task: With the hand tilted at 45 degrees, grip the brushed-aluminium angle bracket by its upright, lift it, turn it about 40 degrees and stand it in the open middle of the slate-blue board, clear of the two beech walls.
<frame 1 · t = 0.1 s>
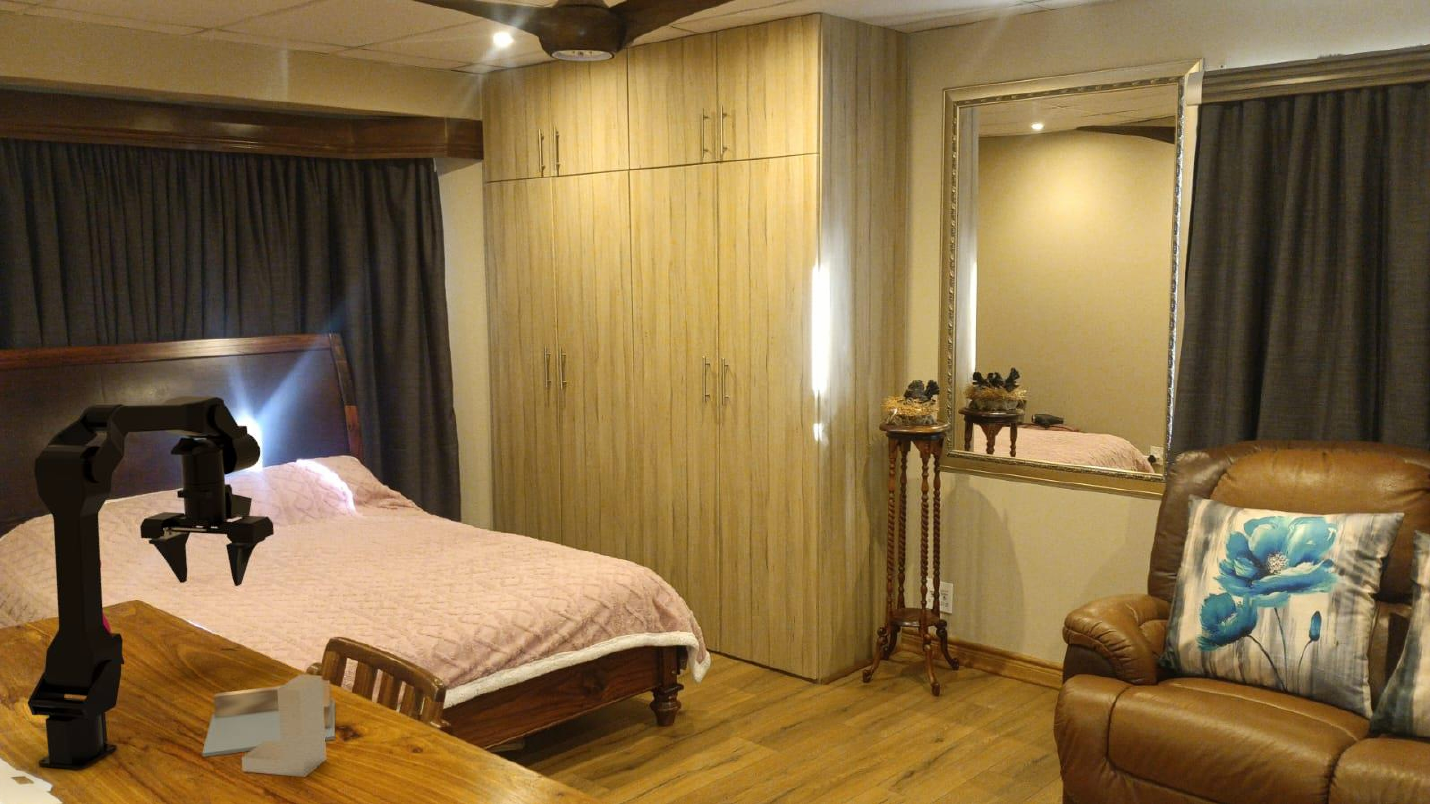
hand: (210, 583, 174), 15 cm above the table, tool pointing down, fingers open, 9 cm apart
bracket: (304, 767, 145), on the table
slate board: (272, 728, 156), on the table
board walls: (272, 728, 156), resting on slate board
pepper mill: (87, 664, 182), on the table
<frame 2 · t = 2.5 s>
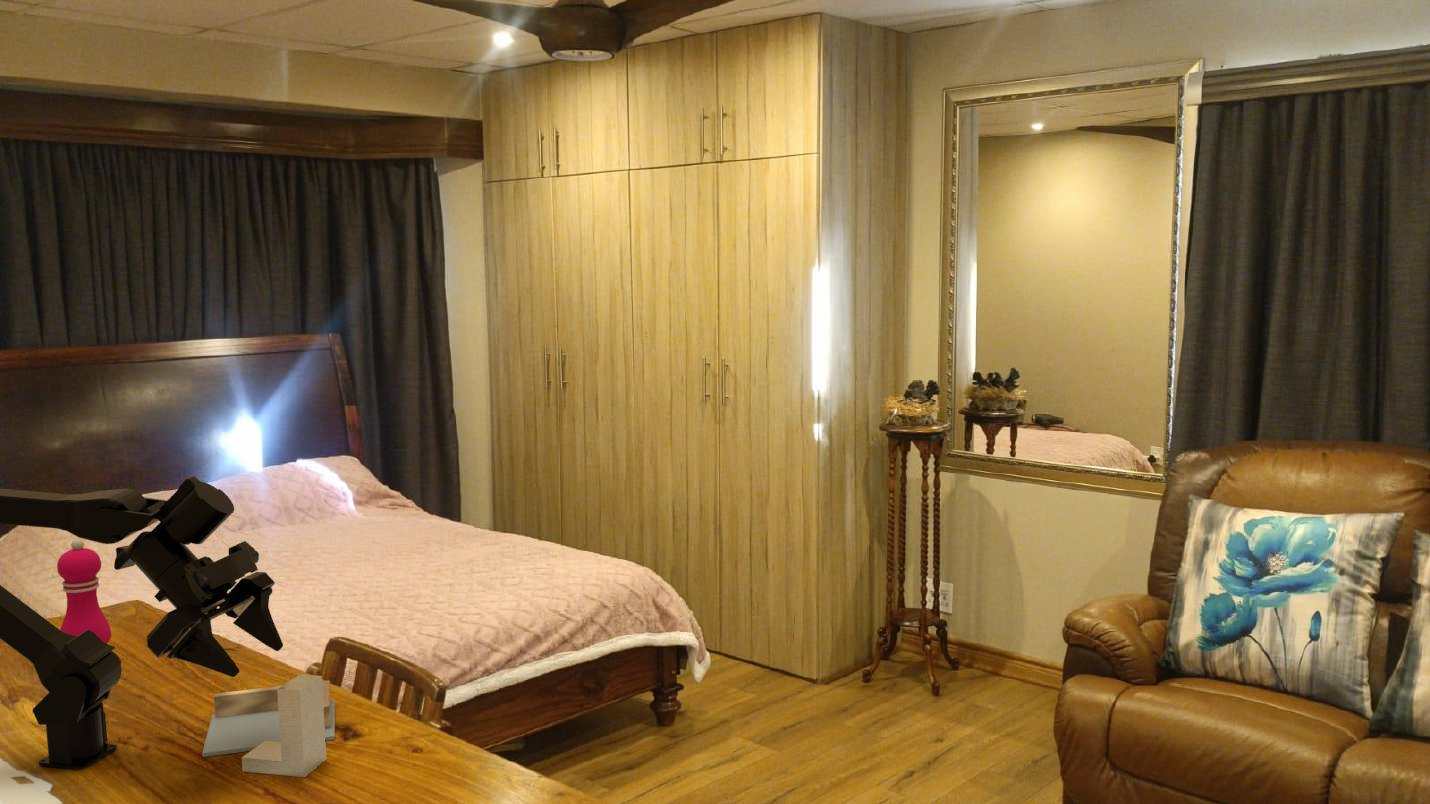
hand: (259, 661, 144), 13 cm above the table, tool tilted 45°, fingers open, 9 cm apart
nothing on the table moved.
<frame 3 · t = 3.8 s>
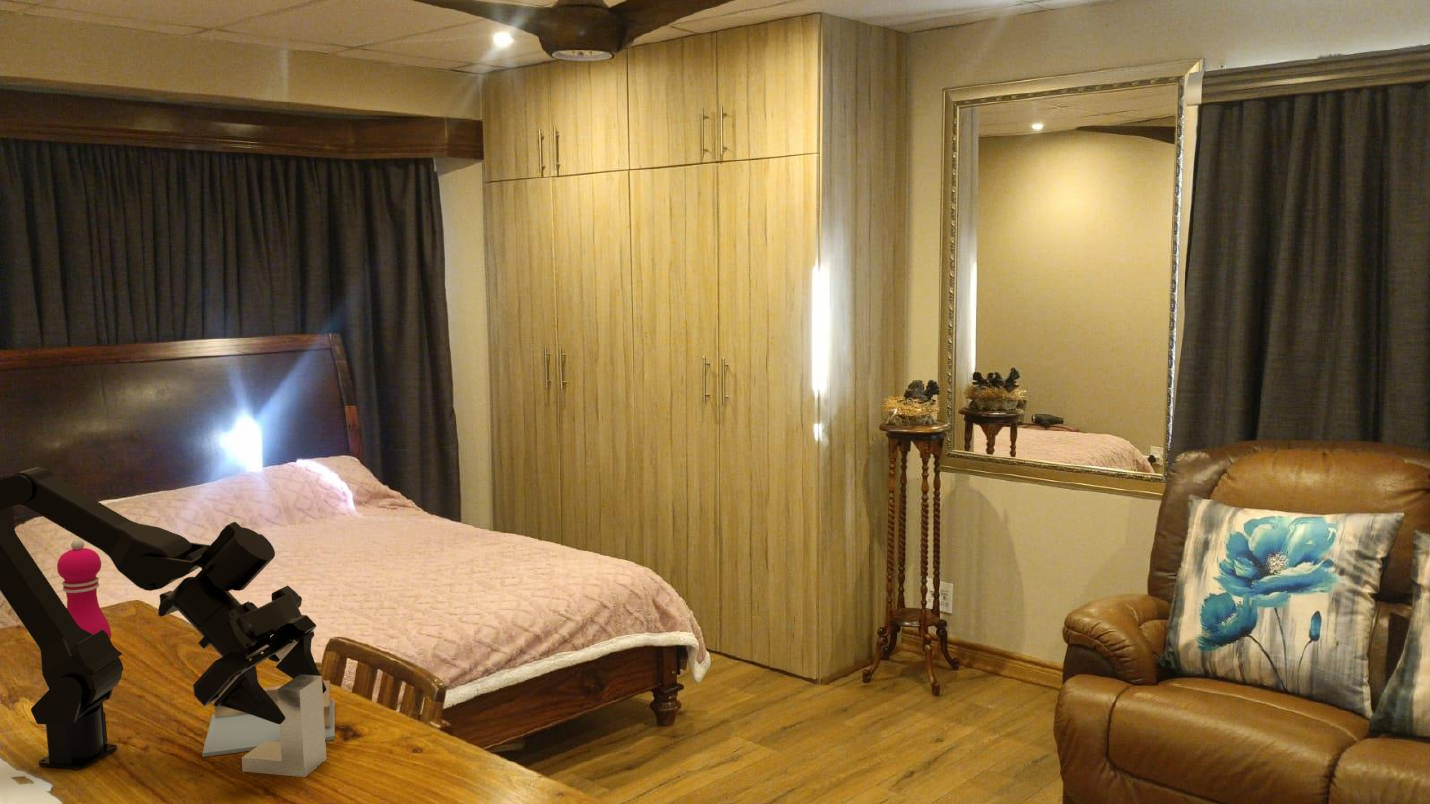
hand: (304, 706, 144), 8 cm above the table, tool tilted 45°, fingers open, 9 cm apart
nothing on the table moved.
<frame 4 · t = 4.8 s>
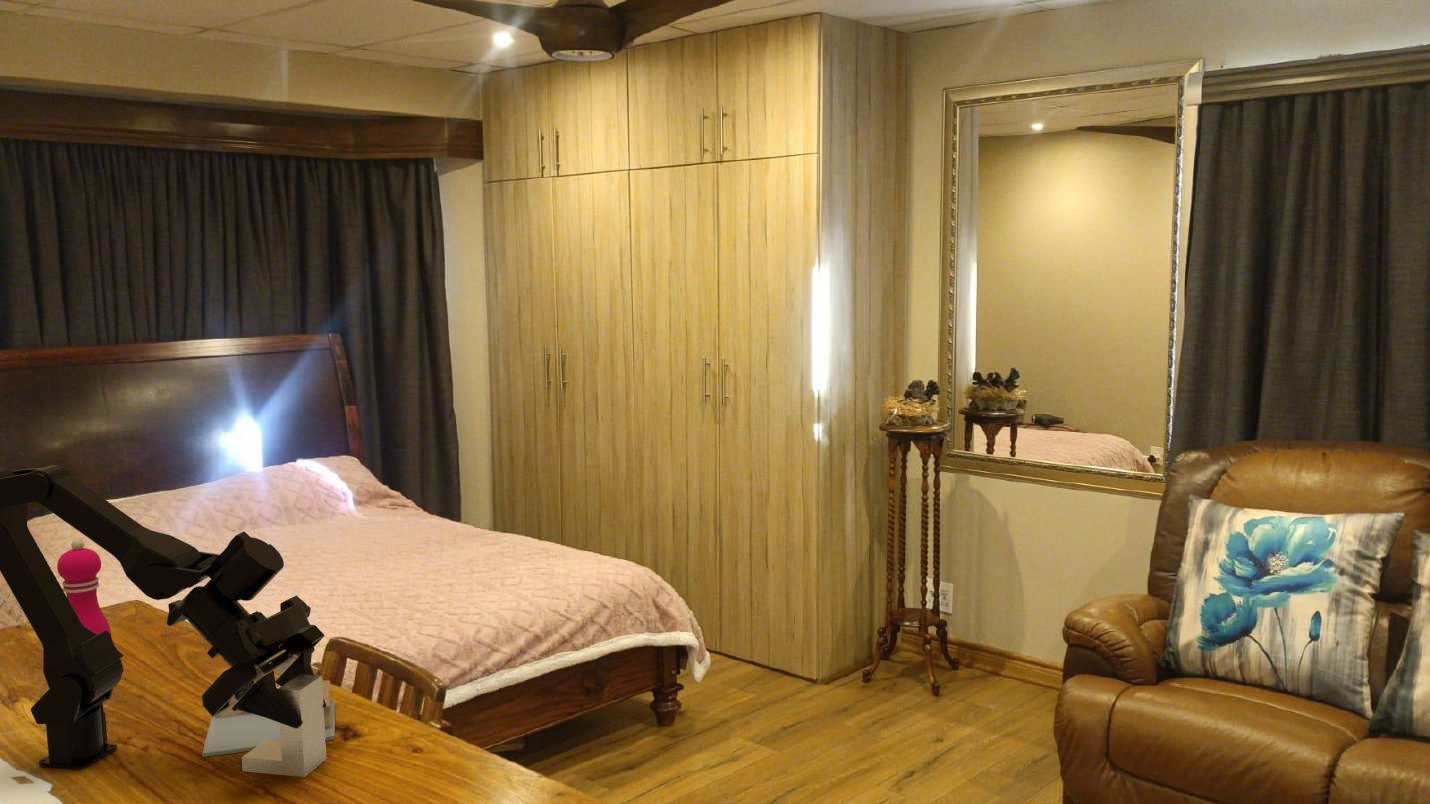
hand: (312, 717, 144), 7 cm above the table, tool tilted 45°, fingers closed on bracket, 5 cm apart
bracket: (304, 767, 145), on the table, touching gripper
everything else where it was.
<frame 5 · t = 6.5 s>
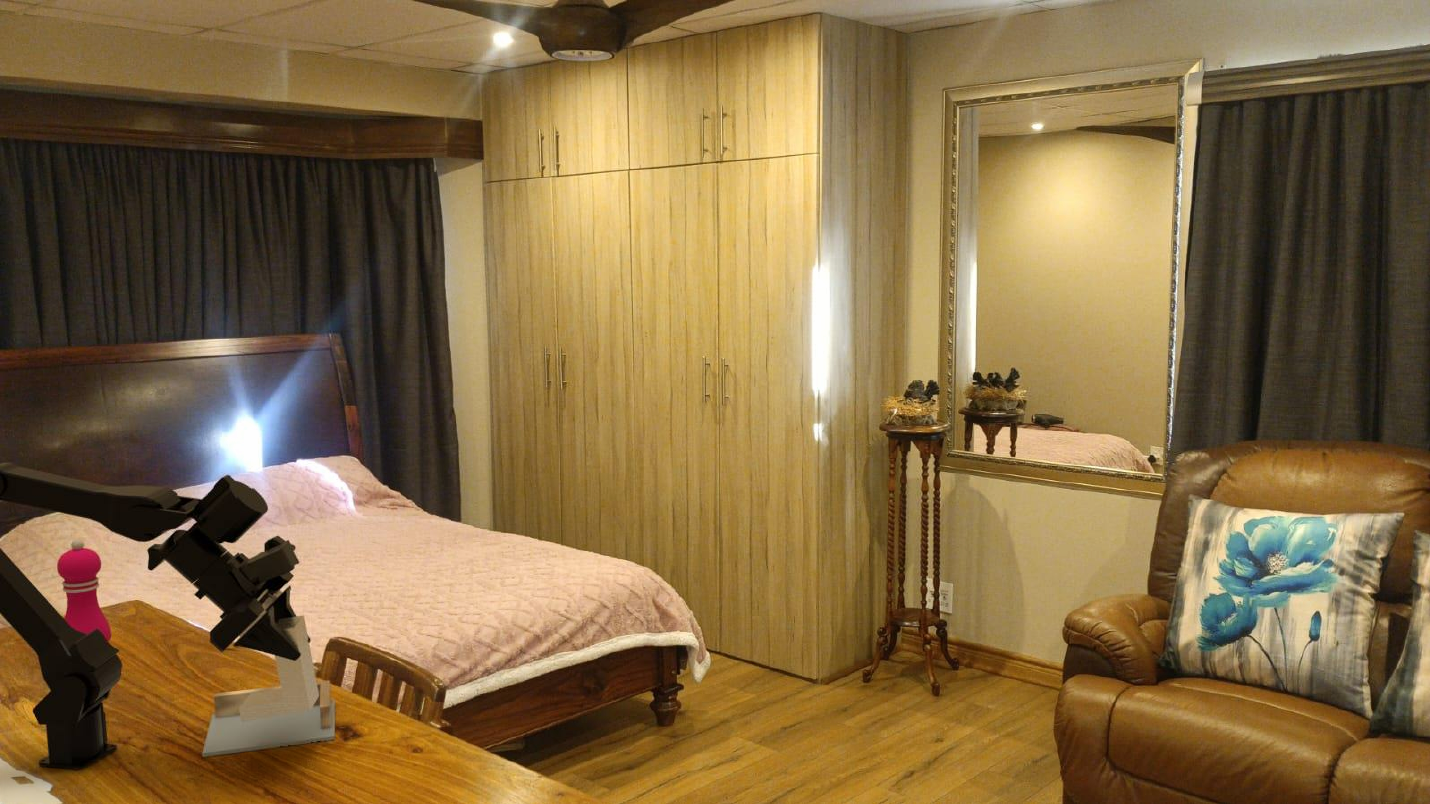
hand: (303, 650, 149), 13 cm above the table, tool tilted 45°, fingers closed on bracket, 5 cm apart
bracket: (302, 704, 149), point 6 cm above the table, tilted 7°, touching gripper
everything else where it was.
when the fingers open (9 cm above the table, at t = 8.3 s): bracket stays where it is, resting on slate board.
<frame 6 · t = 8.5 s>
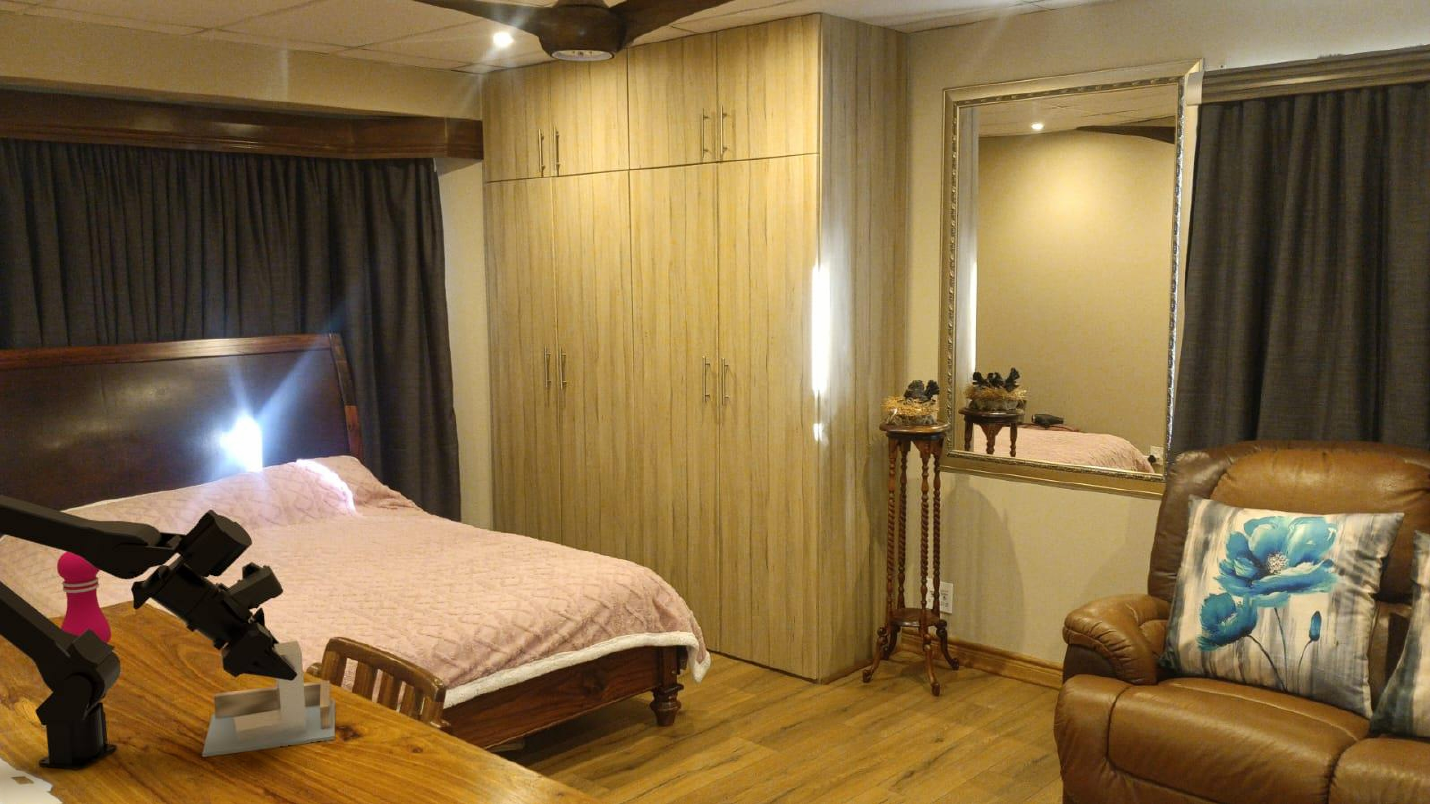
hand: (291, 668, 155), 9 cm above the table, tool tilted 45°, fingers open, 7 cm apart
bracket: (292, 727, 156), resting on slate board
everything else where it was.
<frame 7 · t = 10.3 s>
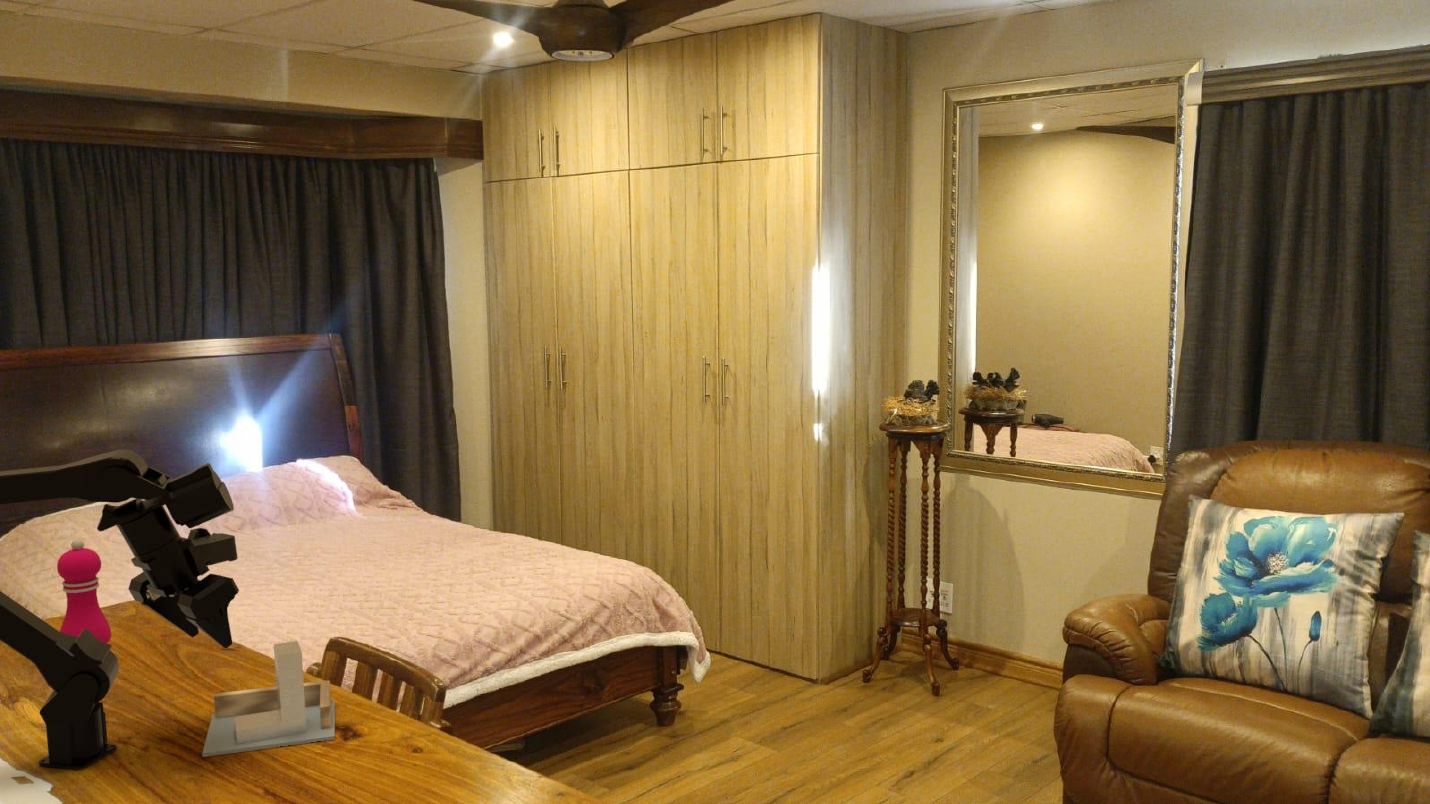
hand: (211, 640, 154), 13 cm above the table, tool tilted 25°, fingers open, 9 cm apart
nothing on the table moved.
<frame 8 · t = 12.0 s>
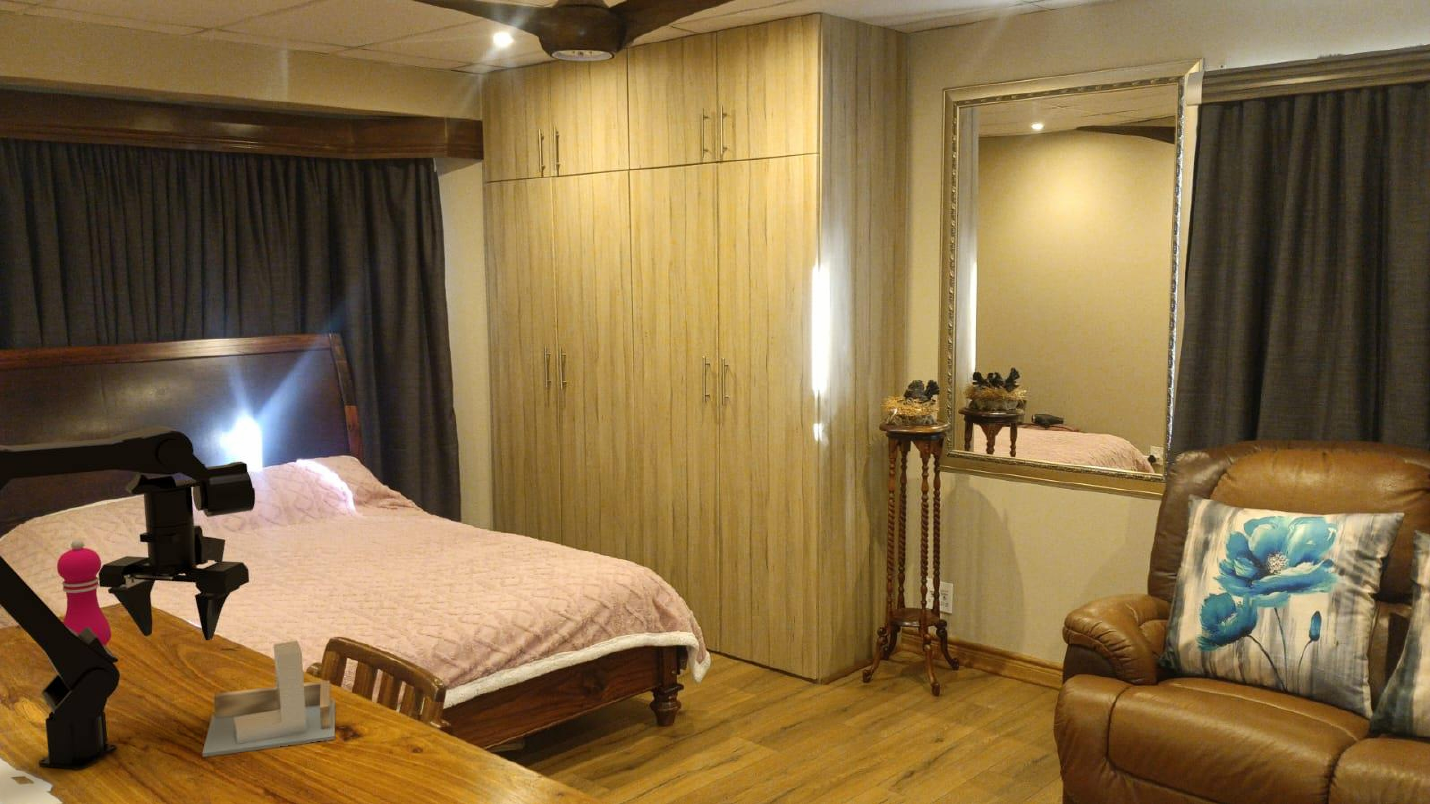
hand: (178, 637, 154), 13 cm above the table, tool pointing down, fingers open, 9 cm apart
nothing on the table moved.
at the end: bracket inside the target area (1.1 cm from its centre), point 0.5 cm above the table; bracket tilted 0°; bracket touching slate board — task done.
